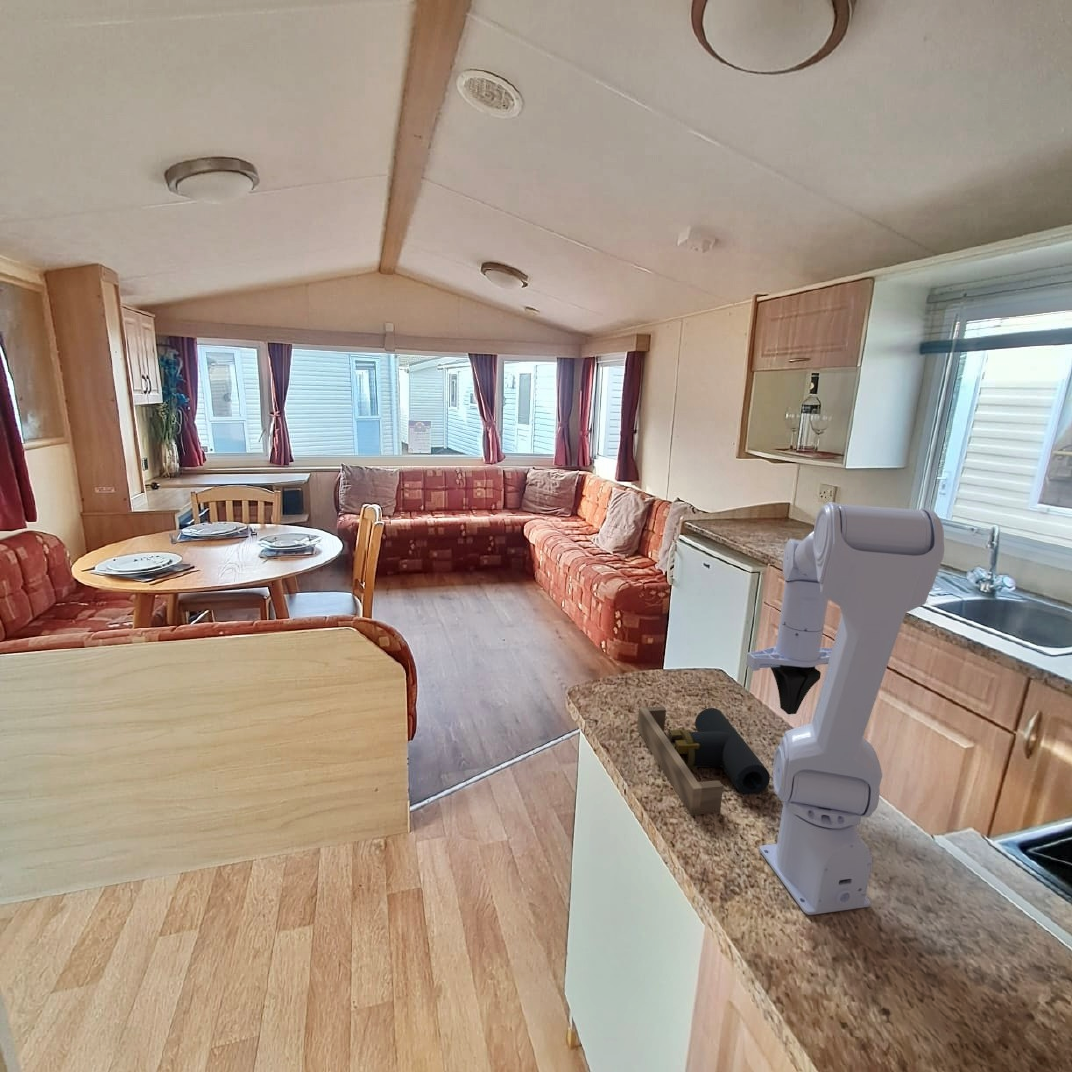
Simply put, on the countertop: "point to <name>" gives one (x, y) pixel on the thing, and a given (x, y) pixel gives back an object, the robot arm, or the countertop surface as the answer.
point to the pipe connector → (721, 751)
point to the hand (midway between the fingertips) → (788, 710)
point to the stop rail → (677, 765)
